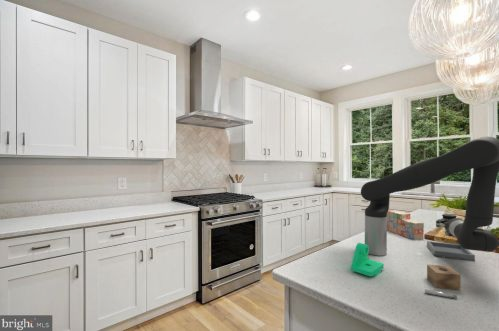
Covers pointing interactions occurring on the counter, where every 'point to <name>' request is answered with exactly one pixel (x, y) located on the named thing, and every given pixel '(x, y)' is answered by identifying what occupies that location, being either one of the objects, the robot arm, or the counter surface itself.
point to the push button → (448, 217)
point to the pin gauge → (441, 294)
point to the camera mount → (365, 262)
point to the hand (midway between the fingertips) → (447, 220)
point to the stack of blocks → (404, 225)
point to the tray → (450, 251)
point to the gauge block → (443, 277)
